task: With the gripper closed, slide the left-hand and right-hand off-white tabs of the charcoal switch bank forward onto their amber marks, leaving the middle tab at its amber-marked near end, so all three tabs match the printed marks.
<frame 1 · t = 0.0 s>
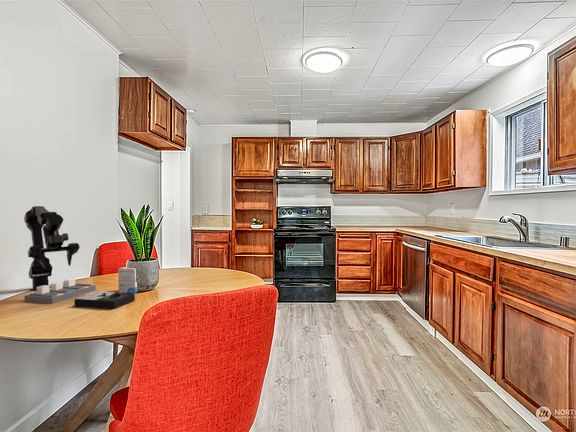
hand: (57, 266, 152), 15 cm above the table, tool tilted 35°, fingers open, 9 cm apart
switch bank: (62, 295, 161), on the table
tab c: (69, 282, 168), point 4 cm above the table, slide at 0.0 cm
ink box: (129, 292, 167), on the table
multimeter: (105, 305, 147), on the table
tab a: (43, 289, 154), point 4 cm above the table, slide at 0.0 cm
tab b: (56, 286, 161), point 4 cm above the table, slide at 0.0 cm
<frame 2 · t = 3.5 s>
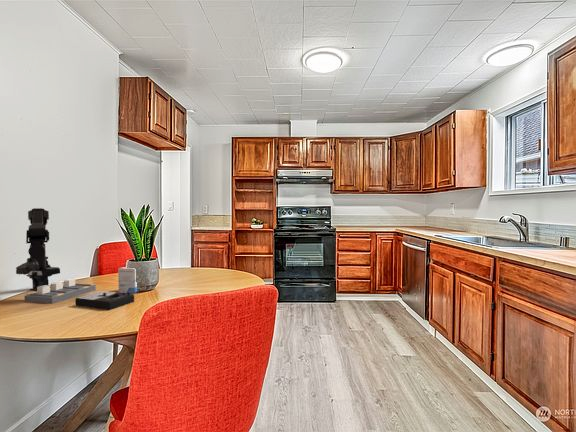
hand: (38, 289, 155), 4 cm above the table, tool pointing down, fingers closed
tab a: (43, 289, 154), point 4 cm above the table, slide at 0.3 cm, touching gripper
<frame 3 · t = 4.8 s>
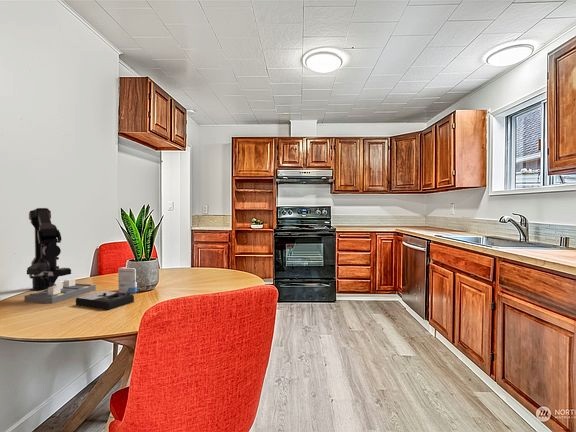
hand: (49, 290, 153), 4 cm above the table, tool pointing down, fingers closed
tab a: (54, 290, 153), point 4 cm above the table, slide at 6.2 cm, touching gripper
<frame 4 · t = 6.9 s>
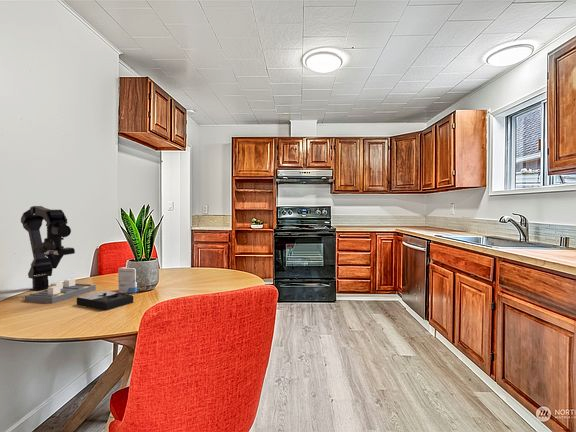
hand: (54, 268, 164), 12 cm above the table, tool pointing down, fingers closed
tab a: (54, 290, 153), point 4 cm above the table, slide at 6.1 cm
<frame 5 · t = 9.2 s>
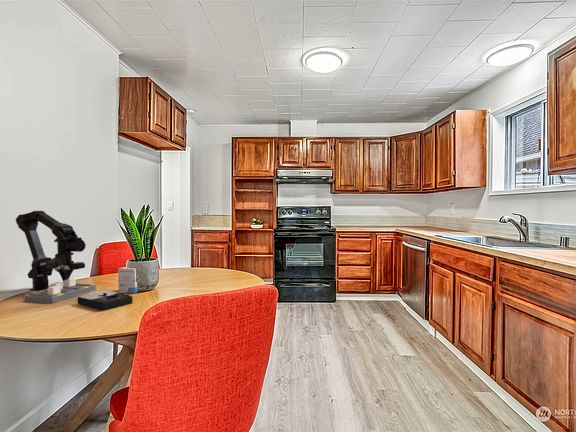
hand: (65, 282, 169), 4 cm above the table, tool pointing down, fingers closed
tab c: (69, 282, 168), point 4 cm above the table, slide at 0.2 cm, touching gripper
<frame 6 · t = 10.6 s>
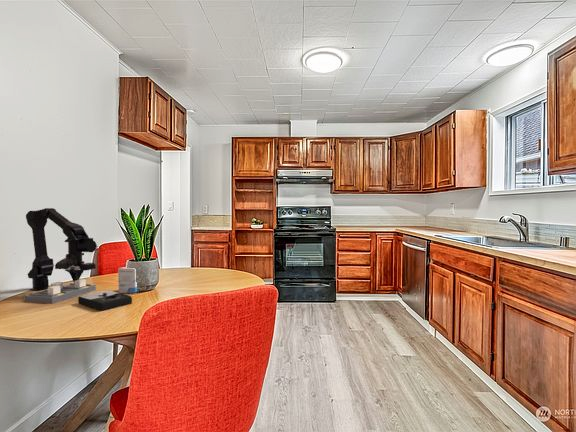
hand: (75, 283, 167), 4 cm above the table, tool pointing down, fingers closed
tab c: (80, 283, 167), point 4 cm above the table, slide at 6.2 cm, touching gripper
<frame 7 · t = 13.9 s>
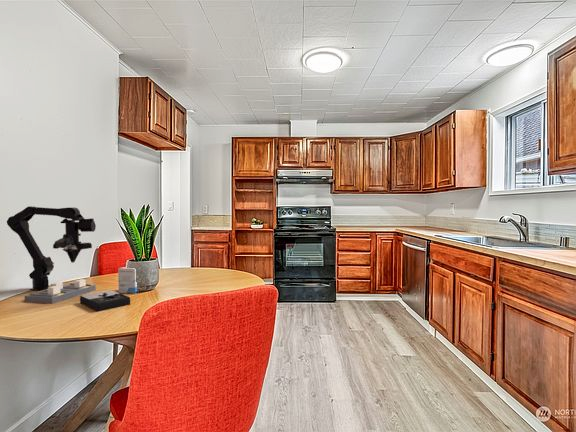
hand: (72, 262, 176), 13 cm above the table, tool pointing down, fingers closed
tab c: (79, 283, 167), point 4 cm above the table, slide at 6.1 cm
at the end: tab a slide at 6.1 cm; tab c slide at 6.1 cm; tab b slide at 0.0 cm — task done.
